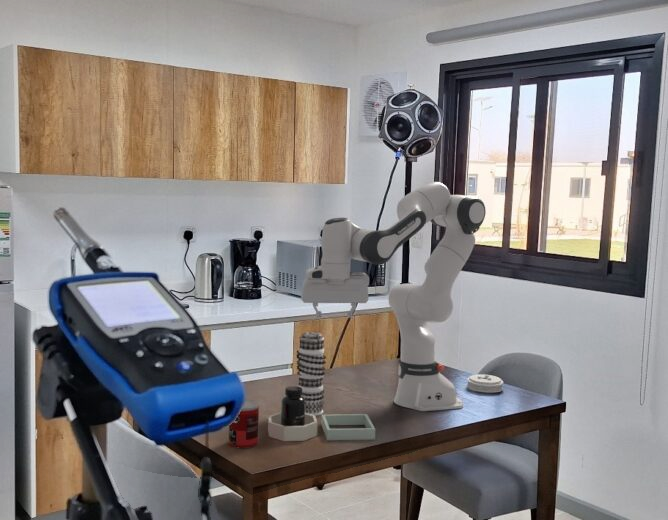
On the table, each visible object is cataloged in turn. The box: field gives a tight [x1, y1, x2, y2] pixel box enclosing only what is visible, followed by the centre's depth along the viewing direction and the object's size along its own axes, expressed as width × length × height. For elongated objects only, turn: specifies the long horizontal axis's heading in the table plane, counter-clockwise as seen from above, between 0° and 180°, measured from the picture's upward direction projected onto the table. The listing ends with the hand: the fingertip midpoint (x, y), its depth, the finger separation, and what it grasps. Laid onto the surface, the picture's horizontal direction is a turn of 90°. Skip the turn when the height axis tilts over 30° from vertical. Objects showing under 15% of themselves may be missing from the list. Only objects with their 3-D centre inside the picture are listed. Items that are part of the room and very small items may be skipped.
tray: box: [320, 413, 376, 441], centre depth 212 cm, size 14×14×3 cm
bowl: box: [267, 411, 318, 442], centre depth 210 cm, size 14×14×4 cm
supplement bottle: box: [280, 385, 305, 426], centre depth 209 cm, size 7×7×12 cm
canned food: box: [228, 400, 260, 449], centre depth 200 cm, size 8×8×11 cm
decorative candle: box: [296, 331, 327, 417], centre depth 229 cm, size 9×9×25 cm
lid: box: [466, 373, 504, 393], centre depth 261 cm, size 13×13×5 cm
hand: (334, 317), depth 222 cm, fingers open, 8 cm apart
